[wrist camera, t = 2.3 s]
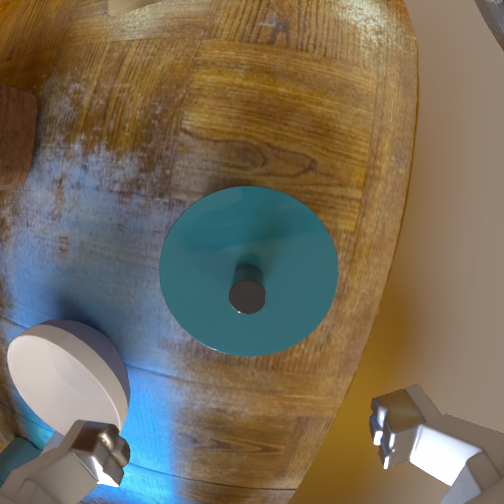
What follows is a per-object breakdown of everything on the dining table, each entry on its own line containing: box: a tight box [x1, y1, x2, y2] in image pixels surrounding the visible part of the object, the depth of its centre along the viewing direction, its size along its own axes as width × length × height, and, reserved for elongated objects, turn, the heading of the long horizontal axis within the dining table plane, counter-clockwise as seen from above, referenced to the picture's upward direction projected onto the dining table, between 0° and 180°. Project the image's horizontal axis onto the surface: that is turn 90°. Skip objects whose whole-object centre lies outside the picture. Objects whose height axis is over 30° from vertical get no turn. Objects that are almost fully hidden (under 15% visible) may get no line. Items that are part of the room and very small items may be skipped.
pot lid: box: [159, 186, 339, 356], centre depth 21 cm, size 14×14×5 cm
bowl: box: [7, 320, 130, 436], centre depth 28 cm, size 16×16×10 cm
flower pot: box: [0, 437, 42, 488], centre depth 34 cm, size 16×16×16 cm
